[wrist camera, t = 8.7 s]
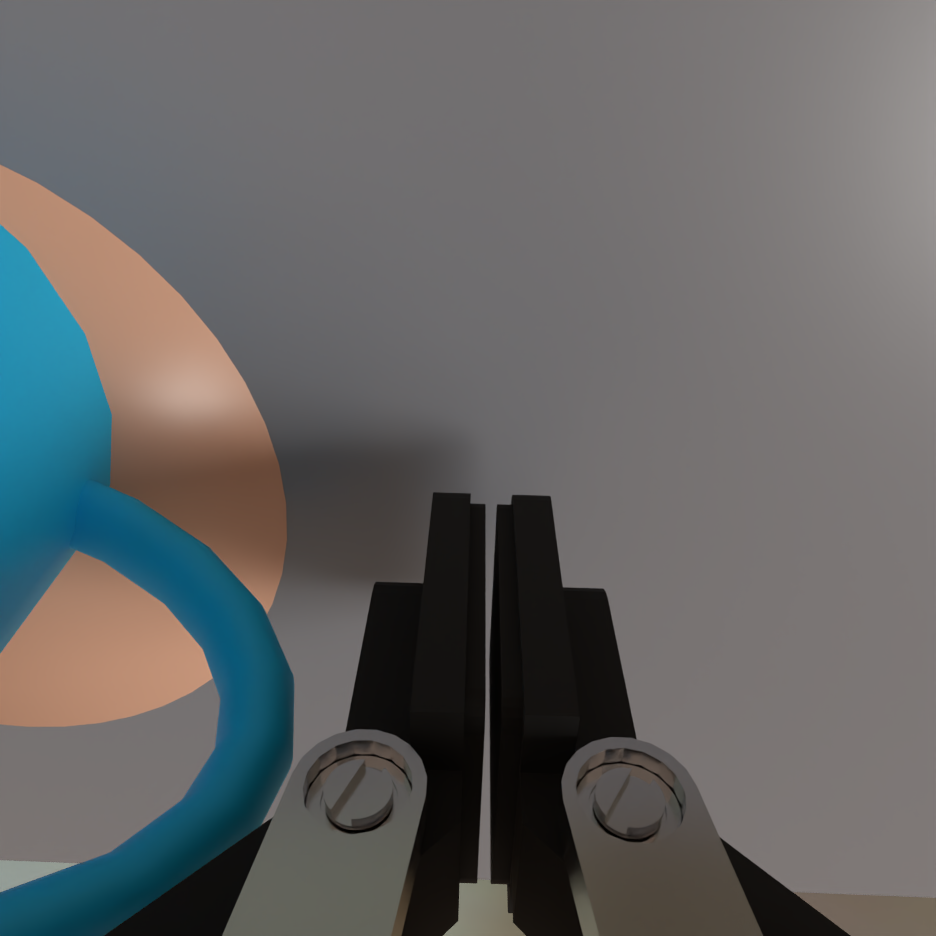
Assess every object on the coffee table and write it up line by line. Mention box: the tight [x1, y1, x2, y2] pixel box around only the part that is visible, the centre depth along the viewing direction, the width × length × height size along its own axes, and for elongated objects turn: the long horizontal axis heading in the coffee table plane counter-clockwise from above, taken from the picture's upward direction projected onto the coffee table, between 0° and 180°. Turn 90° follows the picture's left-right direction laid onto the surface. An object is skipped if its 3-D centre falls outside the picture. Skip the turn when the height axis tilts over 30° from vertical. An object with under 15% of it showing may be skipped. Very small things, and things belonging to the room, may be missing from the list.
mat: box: [0, 0, 936, 898], centre depth 12 cm, size 20×34×1 cm, turn 88°
